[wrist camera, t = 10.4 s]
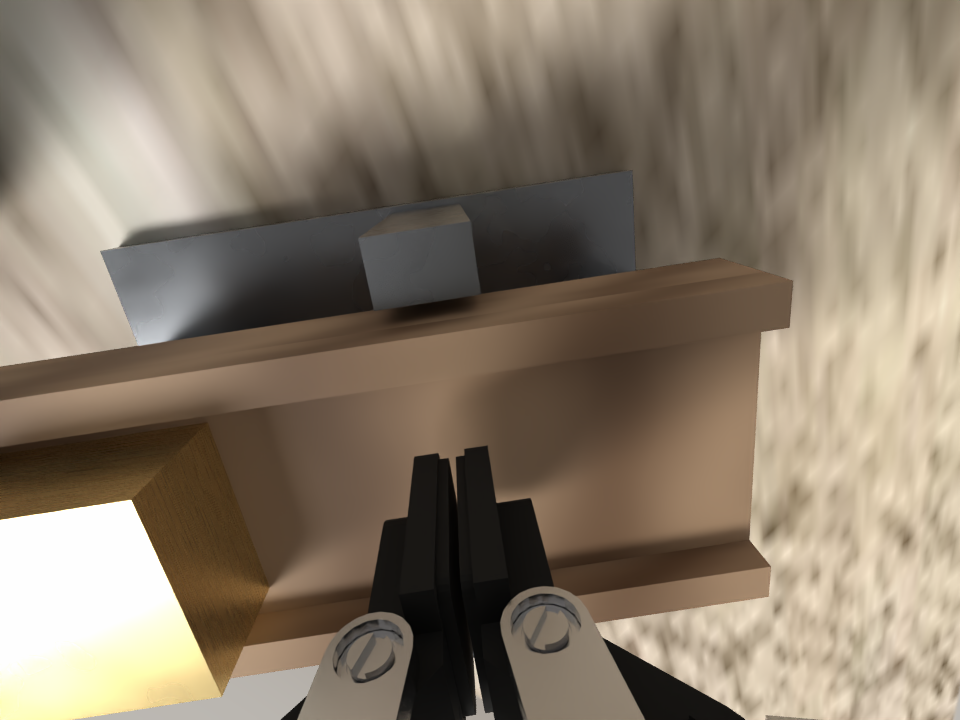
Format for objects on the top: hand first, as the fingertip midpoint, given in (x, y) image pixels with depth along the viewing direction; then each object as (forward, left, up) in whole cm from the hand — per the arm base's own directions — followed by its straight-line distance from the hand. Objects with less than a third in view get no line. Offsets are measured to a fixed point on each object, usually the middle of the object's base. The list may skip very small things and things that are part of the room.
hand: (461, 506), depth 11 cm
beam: (+2, 0, -3) cm, 4 cm away
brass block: (+8, 0, -1) cm, 8 cm away
